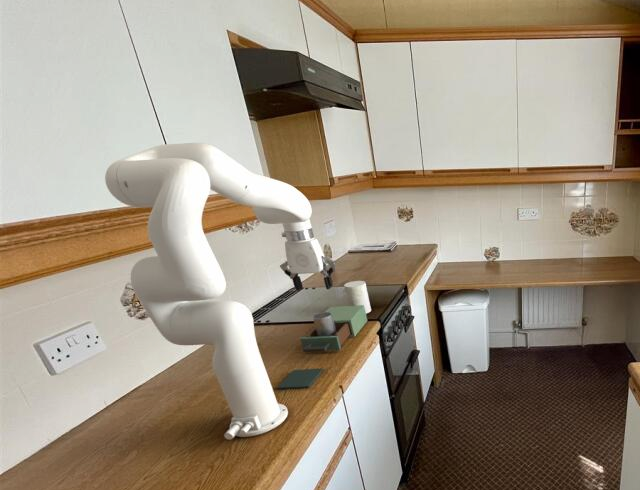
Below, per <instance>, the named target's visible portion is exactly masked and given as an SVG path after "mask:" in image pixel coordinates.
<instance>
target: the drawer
mask: <svg viewBox="0 0 640 490" xmlns="http://www.w3.org/2000/svg"><path fill="white" fill-rule="evenodd" d="M335 327H336V331H337V333H336V334H335V336H321V337H318V334H317V331H316V327H315V326H314V328H313V329H311V330H310V332H309V333H308V334H306V336H304V337H303V336H302V337H300V339H299V340H300V343H301V346H302V352H303V353H311V352H312V353H313V352H314V353H315V352H329V351H330V352H333V351H341V350H342V345H343V344H344V342H345V341H346V340H347V339H348V338H349V337H348V336H349V335H350V334H351V333H352V332H351V328H350V324H349V322H340V323H335Z"/></svg>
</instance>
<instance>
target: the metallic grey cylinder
mask: <svg viewBox="0 0 640 490" xmlns="http://www.w3.org/2000/svg"><path fill="white" fill-rule="evenodd" d="M312 320H313V324H314V328H315V327H316V331H317V334H318V337H321V336H335V334H336V333H337V331H336V327H335V323H334V319H333V315H332V313H331V312H325V311H324V312H319V313H315V314H314V315H313V316H312Z"/></svg>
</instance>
